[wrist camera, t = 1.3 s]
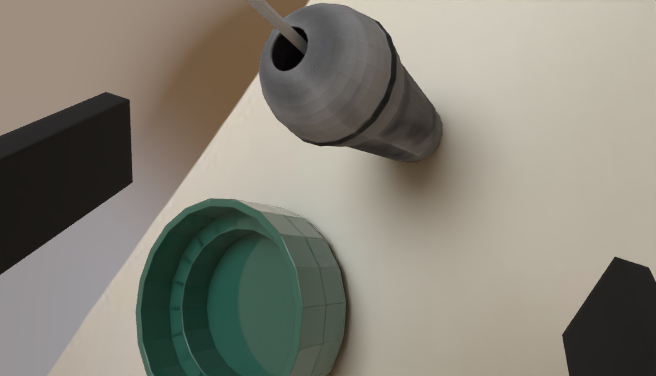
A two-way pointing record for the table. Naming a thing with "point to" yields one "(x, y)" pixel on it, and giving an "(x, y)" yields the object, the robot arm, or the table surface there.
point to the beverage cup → (344, 83)
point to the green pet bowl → (240, 295)
